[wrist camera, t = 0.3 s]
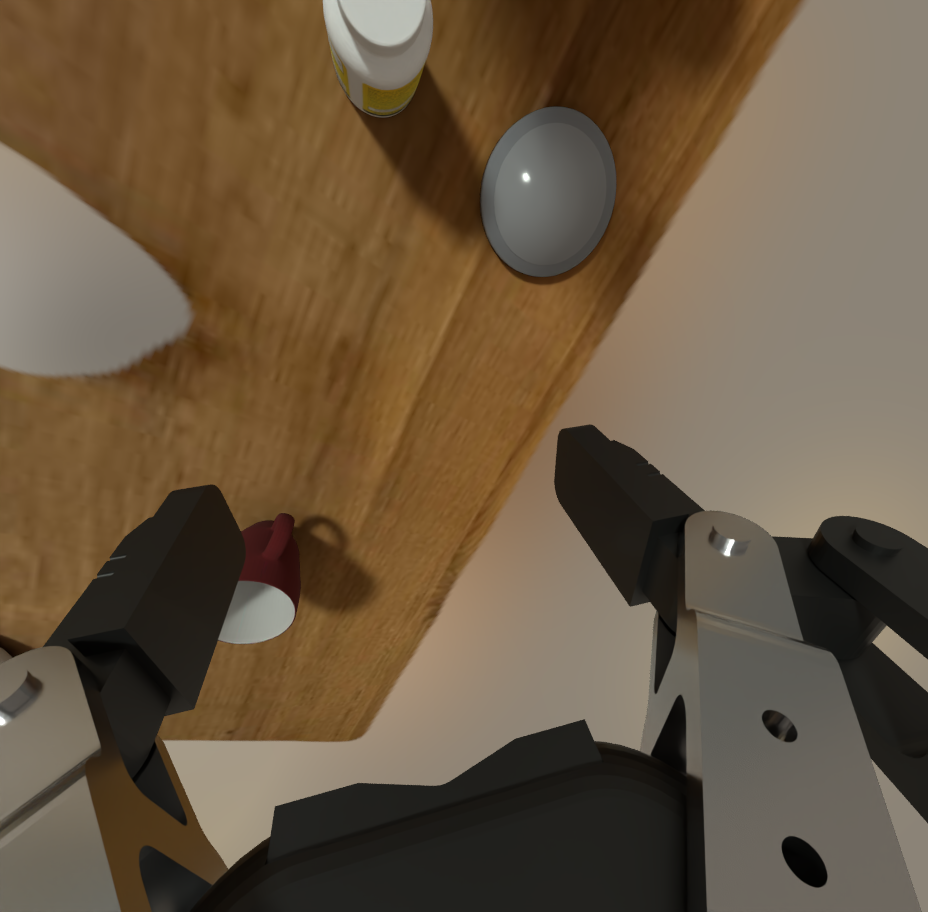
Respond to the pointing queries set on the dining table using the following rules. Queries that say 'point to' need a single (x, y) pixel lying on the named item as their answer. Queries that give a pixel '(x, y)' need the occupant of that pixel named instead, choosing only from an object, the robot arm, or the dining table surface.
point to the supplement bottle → (379, 50)
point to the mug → (265, 584)
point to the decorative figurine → (4, 656)
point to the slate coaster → (548, 191)
